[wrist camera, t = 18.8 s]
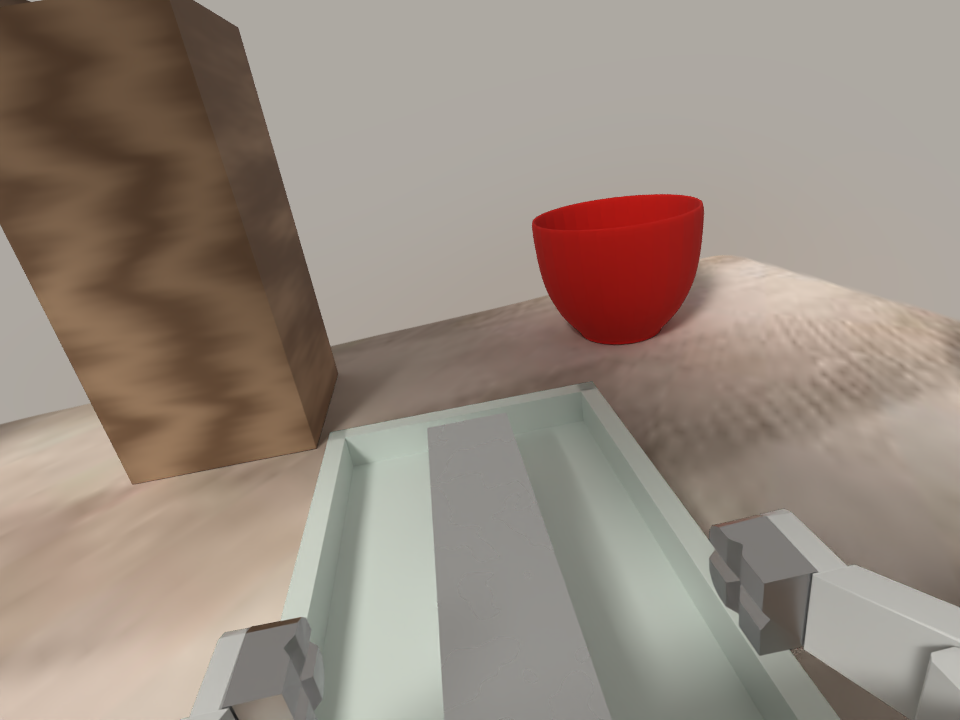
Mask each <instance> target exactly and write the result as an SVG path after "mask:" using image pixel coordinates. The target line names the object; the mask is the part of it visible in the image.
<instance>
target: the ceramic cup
mask: <svg viewBox="0 0 960 720" xmlns="http://www.w3.org/2000/svg"><path fill="white" fill-rule="evenodd" d="M703 220H704V207H703V203H702V201H701V200H699V199H698V198H694V197H691V196H684V195H671V194H667V195H666V194H660V195H658V194H655V195H635V196H624V197H614V198H607V199H600V200H594V201H588V202H583V203H578V204H573V205H569V206H565V207H561V208H558V209H554V210H551V211H548V212H546V213H543V214H541V215H539V216H538V217H536V218H535V219H534V220H533V222H532V230H533V238H534V244H535V249H536V254H537V259H538V264H539V268H540V272H541V275H542V279H543V282H544V284H545V287H546V290H547V292H548V294H549V296H550V298H551V300H552V302H553V303H554V305H555V306H556V308H557V309H558V311H559V312H560V314H561V315H562V316H563V317H564V318H565V319H566V320H567V321H568V322H569V323H570V324H571V325H572V326H573V327H574V328H575V329H577V330H578V331H579V332H581V334H582V336H583V337H584V338H586V339H588V340H590V341H593V342H597V343H602V344H629V343H635V342H640V341H643V340H646V339H649V338H651V337H653V336H655V335H656V334H658V333H659V332H660V330H661V328H662V327H663V326H664V325H665V324H666V323H667V322H668V321H669V320H670V319H671V318H672V317H673V316H674V314H675V313H676V312H677V311H678V309H679V308H680V306H681V305H682V303H683V301H684V300H685V298H686V296H687V295H688V293H689V290H690V288H691V286H692V283H693V281H694V278H695V275H696V271H697V267H698V262H699V257H700V250H701V243H702V233H703Z"/></svg>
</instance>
